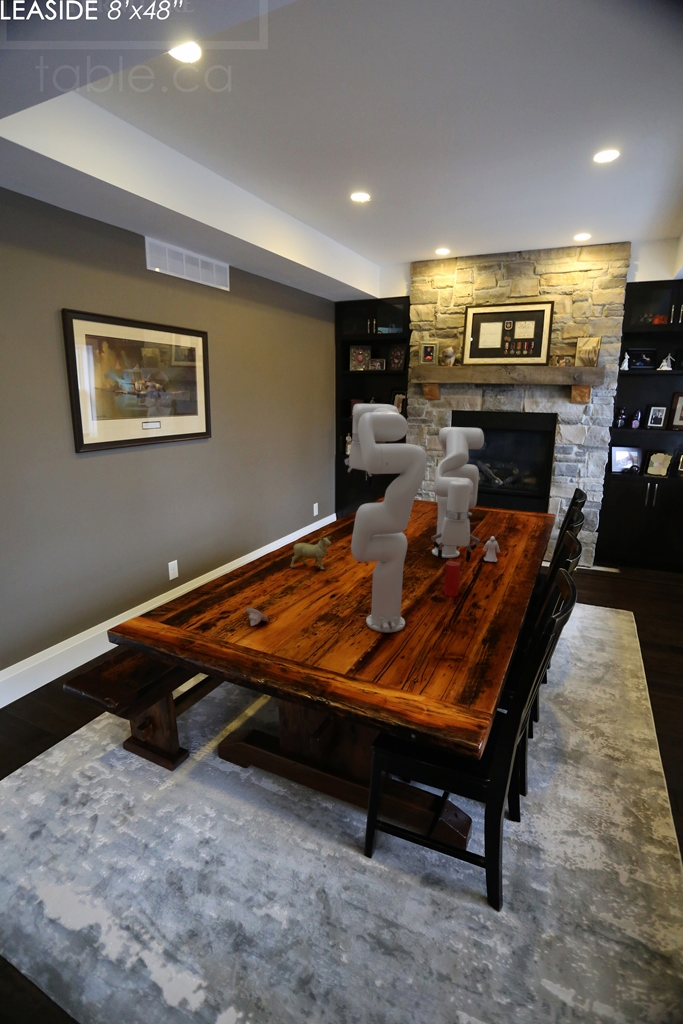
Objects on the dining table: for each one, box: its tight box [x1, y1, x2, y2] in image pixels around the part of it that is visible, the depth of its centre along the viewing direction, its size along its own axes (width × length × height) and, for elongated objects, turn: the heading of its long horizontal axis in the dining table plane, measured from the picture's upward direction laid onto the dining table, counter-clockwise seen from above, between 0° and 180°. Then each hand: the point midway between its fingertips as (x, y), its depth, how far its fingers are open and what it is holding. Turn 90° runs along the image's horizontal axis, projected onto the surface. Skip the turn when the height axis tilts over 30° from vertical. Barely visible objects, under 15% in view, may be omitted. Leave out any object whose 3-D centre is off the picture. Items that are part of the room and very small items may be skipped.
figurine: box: [482, 535, 501, 563], centre depth 223 cm, size 8×8×12 cm
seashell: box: [245, 607, 269, 627], centre depth 160 cm, size 8×5×8 cm
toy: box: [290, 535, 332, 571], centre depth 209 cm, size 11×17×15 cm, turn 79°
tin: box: [443, 560, 461, 597], centre depth 186 cm, size 5×5×12 cm
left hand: (361, 484), depth 186 cm, fingers open, 9 cm apart
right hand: (453, 560), depth 184 cm, fingers open, 9 cm apart
